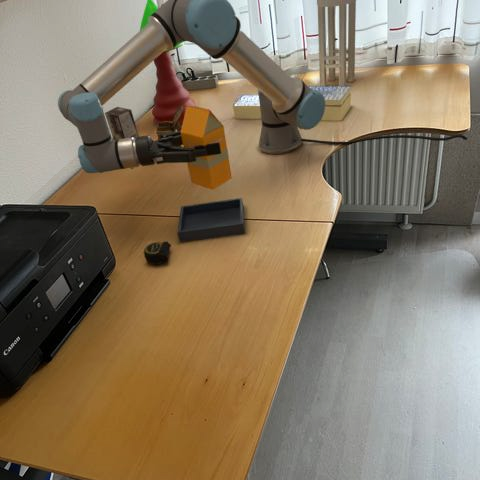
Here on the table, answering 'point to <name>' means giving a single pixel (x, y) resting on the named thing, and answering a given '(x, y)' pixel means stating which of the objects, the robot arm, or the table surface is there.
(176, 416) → the table surface
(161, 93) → the table lamp
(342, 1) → the stool
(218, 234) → the tray
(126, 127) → the coffee box
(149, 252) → the tape measure
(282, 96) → the robot arm
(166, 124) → the wooden mug
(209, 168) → the orange juice
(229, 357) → the table surface
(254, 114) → the pale yellow long box
